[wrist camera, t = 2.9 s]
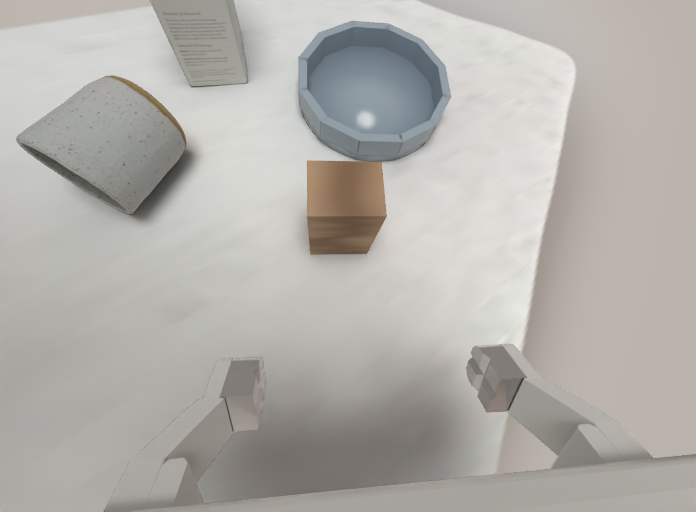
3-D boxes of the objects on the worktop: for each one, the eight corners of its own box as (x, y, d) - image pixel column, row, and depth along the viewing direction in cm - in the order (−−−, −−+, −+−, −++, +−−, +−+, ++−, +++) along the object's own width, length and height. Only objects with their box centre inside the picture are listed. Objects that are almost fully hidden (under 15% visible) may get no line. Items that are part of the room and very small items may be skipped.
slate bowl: (300, 160, 28) (298, 139, 25) (300, 46, 32) (298, 17, 30) (446, 162, 30) (459, 143, 27) (428, 53, 34) (438, 27, 31)
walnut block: (310, 254, 26) (307, 216, 18) (310, 213, 27) (307, 160, 19) (366, 253, 26) (386, 216, 18) (363, 213, 27) (381, 162, 20)
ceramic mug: (206, 156, 27) (163, 86, 20) (150, 226, 25) (78, 176, 18) (111, 110, 28) (36, 26, 21) (47, 174, 26) (-64, 105, 18)
